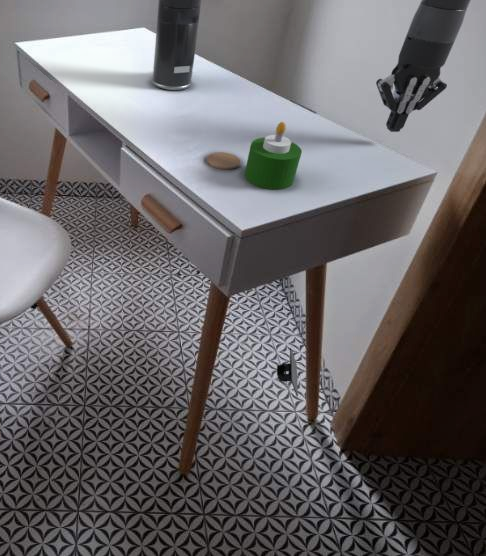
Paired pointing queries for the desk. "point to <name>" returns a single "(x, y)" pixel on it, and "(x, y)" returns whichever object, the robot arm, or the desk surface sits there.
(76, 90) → the desk surface
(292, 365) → the build plate
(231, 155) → the coaster
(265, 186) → the candle
